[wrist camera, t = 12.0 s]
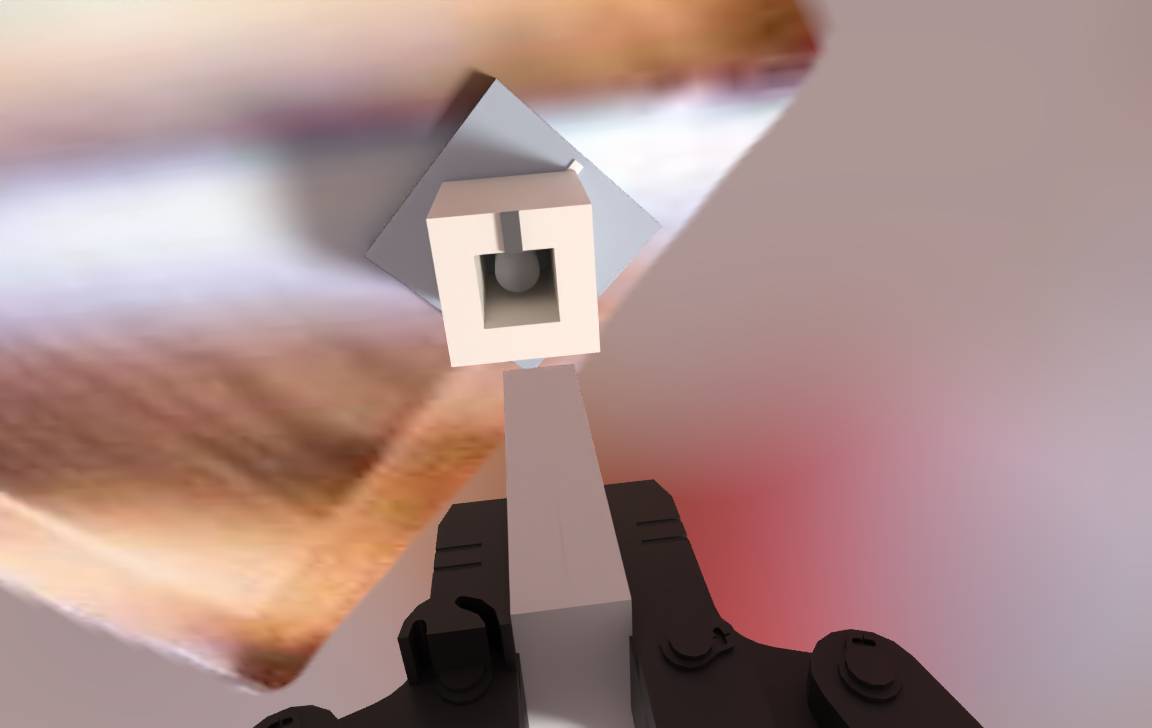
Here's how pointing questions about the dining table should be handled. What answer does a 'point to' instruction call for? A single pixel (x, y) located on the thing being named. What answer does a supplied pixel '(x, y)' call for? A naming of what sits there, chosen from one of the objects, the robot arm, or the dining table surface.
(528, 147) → the plate
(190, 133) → the dining table surface
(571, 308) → the cube with square hole
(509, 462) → the robot arm
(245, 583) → the dining table surface
